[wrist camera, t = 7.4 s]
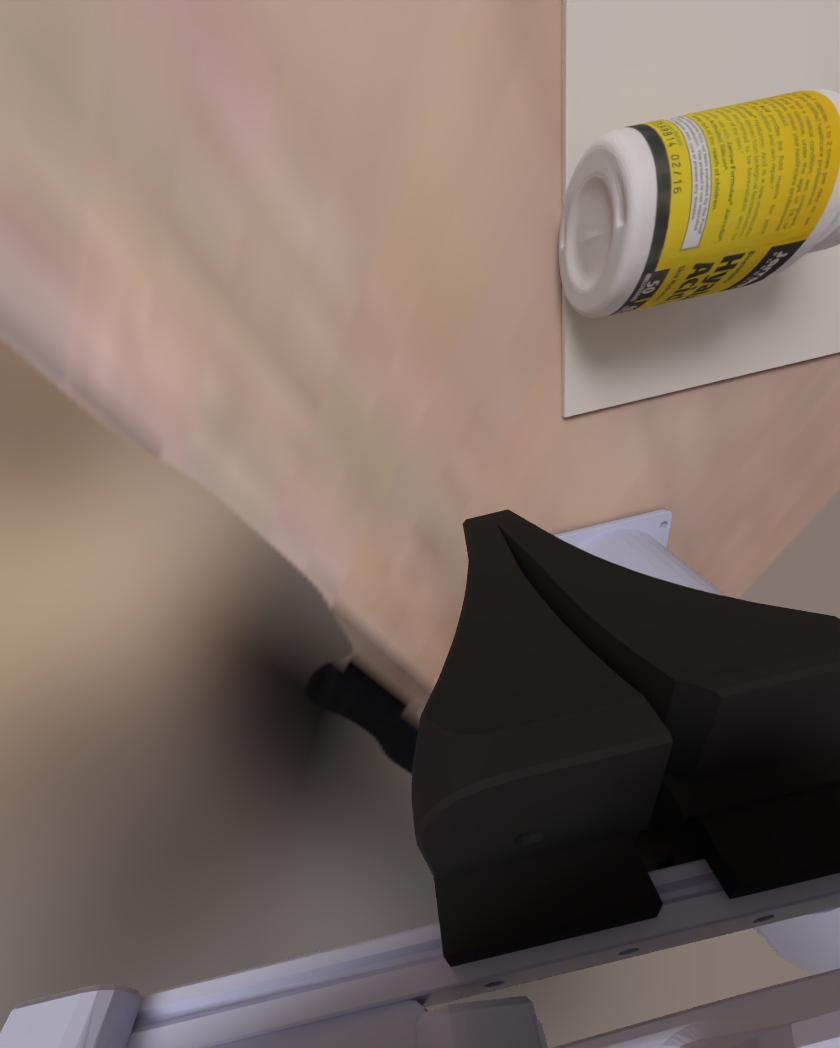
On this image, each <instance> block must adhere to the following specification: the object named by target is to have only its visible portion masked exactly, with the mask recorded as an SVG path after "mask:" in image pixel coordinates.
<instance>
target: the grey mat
mask: <svg viewBox="0 0 840 1048" xmlns="http://www.w3.org/2000/svg"><path fill="white" fill-rule="evenodd" d="M812 89H825V90H831V91H834V92H837V93H839V94H840V0H562V208H563V203H564V199H565V195H566V191H567V188H568V185H569V182H570V179H571V177H572V175H573V172H574V170H575V168H576V166H577V164H578V162H579V161H580V159H581V157H582V156H583V154H584V153H585V151H586V150H587V149H588V147H589V146H590V145H591V144H592V143H593V142H594V141H595V140H596V139H597V138H599V137H600V136H602V135H603V134H605V133H607V132H610V131H612V130H616V129H620V128H623V127H627V126H633V125H638V124H642V123H646V122H651V121H656V120H661V119H666V118H670V117H676V116H681V115H685V114H690V113H696V112H700V111H704V110H709V109H714V108H719V107H725V106H730V105H735V104H740V103H744V102H749V101H754V100H758V99H763V98H768V97H773V96H777V95H782V94H787V93H792V92H797V91H805V90H812ZM838 352H840V244H838V245H836V246H834V247H831V248H828V249H825V250H820V251H816V252H811V253H807V254H805V255H804V256H802V257H801V258H800V259H799V260H798V261H796V262H795V263H794V264H793V265H791V266H790V267H788V268H787V269H786V270H784V271H782V272H781V273H779V274H777V275H775V276H773V277H771V278H769V279H767V280H764V281H762V282H759V283H755V284H751V285H747V286H744V287H741V288H736V289H731V290H726V291H722V292H718V293H713V294H709V295H704V296H700V297H695V298H691V299H685V300H681V301H675V302H671V303H666V304H661V305H657V306H652V307H647V308H643V309H638V310H633V311H627V312H623V313H618V314H614V315H609V316H603V317H598V318H588V317H584V316H582V315H580V314H579V313H577V312H576V311H575V310H574V309H573V308H572V306H571V305H570V303H569V302H568V300H567V298H566V296H565V293H564V290H563V286H562V416H563V417H569V416H573V415H577V414H582V413H586V412H590V411H594V410H598V409H603V408H607V407H611V406H615V405H620V404H624V403H628V402H632V401H636V400H641V399H645V398H649V397H653V396H657V395H662V394H666V393H670V392H674V391H678V390H683V389H687V388H691V387H695V386H699V385H704V384H708V383H712V382H716V381H720V380H725V379H729V378H733V377H737V376H741V375H746V374H750V373H754V372H758V371H762V370H767V369H771V368H775V367H779V366H783V365H788V364H792V363H796V362H800V361H804V360H809V359H813V358H817V357H821V356H825V355H830V354H834V353H838Z"/></svg>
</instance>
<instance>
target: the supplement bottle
mask: <svg viewBox="0 0 840 1048" xmlns="http://www.w3.org/2000/svg"><path fill="white" fill-rule="evenodd" d="M838 244H840V94H839V93H837V92H834V91H831V90H825V89H812V90H805V91H797V92H792V93H787V94H782V95H777V96H773V97H768V98H763V99H758V100H754V101H749V102H744V103H740V104H735V105H730V106H725V107H719V108H714V109H709V110H704V111H700V112H696V113H690V114H685V115H681V116H676V117H670V118H666V119H661V120H656V121H651V122H646V123H642V124H638V125H633V126H627V127H623V128H620V129H616V130H612V131H610V132H607V133H605V134H603V135H602V136H600V137H599V138H597V139H596V140H595V141H594V142H593V143H592V144H591V145H590V146H589V147H588V149H587V150H586V151H585V153H584V154H583V156H582V157H581V159H580V161H579V162H578V164H577V166H576V168H575V170H574V172H573V175H572V177H571V179H570V182H569V185H568V188H567V191H566V195H565V199H564V203H563V208H562V214H561V220H560V229H559V268H560V276H561V281H562V286H563V290H564V293H565V296H566V298H567V300H568V302H569V303H570V305H571V306H572V308H573V309H574V310H575V311H576V312H577V313H579V314H580V315H582V316H584V317H588V318H598V317H603V316H609V315H614V314H618V313H623V312H627V311H633V310H638V309H643V308H647V307H652V306H657V305H661V304H666V303H671V302H675V301H681V300H685V299H691V298H695V297H700V296H704V295H709V294H713V293H718V292H722V291H726V290H731V289H736V288H741V287H744V286H747V285H751V284H755V283H759V282H762V281H764V280H767V279H769V278H771V277H773V276H775V275H777V274H779V273H781V272H782V271H784V270H786V269H787V268H788V267H790V266H791V265H793V264H794V263H795V262H796V261H798V260H799V259H800V258H801V257H802V256H804V255H805V254H807V253H811V252H816V251H820V250H825V249H828V248H831V247H834V246H836V245H838Z"/></svg>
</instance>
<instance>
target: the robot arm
mask: <svg viewBox="0 0 840 1048" xmlns="http://www.w3.org/2000/svg"><path fill="white" fill-rule="evenodd" d="M671 519H672V513H671V512H670V511H668V510H667V509H661V510H657V511H653V512H648V513H644V514H640V515H636V516H632V517H627V518H623V519H619V520H615V521H611V522H607V523H602V524H598V525H594V526H590V527H586V528H581V529H577V530H573V531H569V532H565V533H560V534H556V535H552V534H550V533H548V532H546V531H544V530H543V529H541V528H539V527H537V526H536V525H534V524H532V523H530V522H529V521H527V520H525V519H524V518H522V517H520V516H519V515H517V514H515V513H513V512H512V511H510V510H504V511H500V512H495V513H491V514H487V515H483V516H479V517H475V518H470V519H466V520H465V522H464V523H463V528H464V534H465V540H466V546H467V552H468V558H469V564H468V575H467V584H466V591H465V597H464V602H463V606H462V611H461V615H460V619H459V622H458V626H457V630H456V633H455V636H454V639H453V642H452V645H451V648H450V651H449V653H448V656H447V658H446V661H445V664H444V666H443V669H442V672H441V674H440V676H439V679H438V681H437V683H436V685H435V687H434V689H433V691H432V693H431V695H430V698H429V700H428V702H427V704H426V706H425V708H424V710H423V712H422V714H421V719H420V724H419V729H418V735H417V741H416V747H415V754H414V761H413V771H412V807H413V817H414V827H415V835H416V841H417V845H418V847H419V849H420V851H421V853H422V855H423V857H424V859H425V861H426V862H427V864H428V866H429V868H430V870H431V872H432V874H433V876H434V881H435V889H436V898H437V906H438V915H439V923H436V924H432V925H428V926H424V927H420V928H416V929H411V930H407V931H403V932H399V933H395V934H391V935H387V936H383V937H378V938H374V939H370V940H366V941H362V942H358V943H353V944H350V945H345V946H341V947H337V948H333V949H329V950H325V951H320V952H316V953H313V954H308V955H305V956H300V957H296V958H292V959H287V960H283V961H279V962H275V963H271V964H267V965H263V966H259V967H254V968H250V969H246V970H242V971H238V972H234V973H230V974H226V975H221V976H217V977H213V978H209V979H205V980H201V981H197V982H193V983H189V984H185V985H180V986H176V987H173V988H168V989H164V990H160V991H155V992H152V993H147V994H143V995H141V994H140V993H139V991H138V990H136V989H134V988H132V987H128V986H125V985H118V984H100V985H94V986H88V987H83V988H80V989H75V990H71V991H67V992H63V993H59V994H55V995H51V996H46V997H42V998H38V999H34V1000H30V1001H26V1002H22V1003H21V1004H19V1005H18V1006H17V1007H16V1008H14V1009H13V1010H12V1012H11V1014H10V1016H9V1017H8V1020H7V1022H6V1023H5V1026H4V1027H3V1029H2V1031H1V1033H0V1048H548V1047H547V1043H546V1039H545V1035H544V1031H543V1027H542V1024H541V1023H540V1022H539V1020H537V1018H536V1014H535V1009H534V1005H533V1003H532V1002H531V1001H530V1000H529V999H528V998H527V997H526V996H519V997H510V998H501V999H493V1000H484V1001H474V1002H465V1003H458V1004H452V1005H447V1006H443V1007H439V1008H436V1009H433V1010H430V1011H428V1010H427V1009H425V1007H429V1006H433V1005H437V1004H441V1003H445V1002H450V1001H453V1000H458V999H462V998H465V997H470V996H474V995H478V994H482V993H486V992H491V991H495V990H499V989H503V988H507V987H511V986H515V985H519V984H524V983H527V982H532V981H535V980H540V979H544V978H548V977H552V976H557V975H560V974H565V973H569V972H573V971H577V970H581V969H585V968H589V967H594V966H598V965H602V964H605V963H610V962H614V961H618V960H622V959H626V958H631V957H634V956H639V955H643V954H647V953H651V952H655V951H659V950H664V949H668V948H672V947H676V946H680V945H684V944H688V943H692V942H696V941H700V940H704V939H709V938H713V937H717V936H721V935H725V934H729V933H733V932H737V931H742V930H746V929H750V928H753V929H754V930H755V931H756V932H757V933H758V934H759V935H761V936H762V937H764V938H765V939H766V941H767V942H768V943H769V945H770V946H771V947H772V948H773V950H774V951H775V952H776V954H777V955H778V956H780V957H781V958H783V959H784V960H786V961H787V962H789V963H792V964H794V965H796V966H798V967H800V968H802V969H805V970H807V971H809V972H811V973H814V974H816V975H812V976H809V977H805V978H801V979H797V980H793V981H789V982H785V983H782V984H778V985H774V986H770V987H766V988H763V989H759V990H755V991H752V992H748V993H745V994H742V995H738V996H734V997H730V998H726V999H723V1000H719V1001H716V1002H712V1003H709V1004H705V1005H701V1006H698V1007H694V1008H690V1009H687V1010H683V1011H680V1012H676V1013H673V1014H669V1015H666V1016H663V1017H659V1018H655V1019H652V1020H648V1021H645V1022H641V1023H638V1024H634V1025H631V1026H627V1027H623V1028H620V1029H616V1030H613V1031H609V1032H606V1033H603V1034H599V1035H596V1036H592V1037H588V1038H585V1039H581V1040H578V1041H575V1042H571V1043H567V1044H564V1045H560V1046H557V1047H553V1048H840V619H839V618H837V617H835V616H829V615H824V614H818V613H812V612H806V611H801V610H794V609H789V608H783V607H777V606H771V605H766V604H759V603H754V602H749V601H745V600H740V599H736V598H731V597H727V596H726V595H724V594H723V593H722V592H721V591H719V590H718V589H717V588H716V587H714V586H713V585H712V584H711V583H709V582H708V581H707V580H706V579H704V578H703V577H702V576H701V575H699V574H698V573H697V572H696V571H694V570H693V569H692V568H691V567H689V566H688V565H687V564H685V563H684V562H683V561H682V560H680V559H679V558H678V557H677V556H675V555H674V554H673V553H672V552H670V551H669V550H668V549H667V548H666V547H667V541H668V536H669V530H670V525H671ZM662 522H663V523H662ZM661 523H662V524H661ZM660 524H661V525H660Z"/></svg>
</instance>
